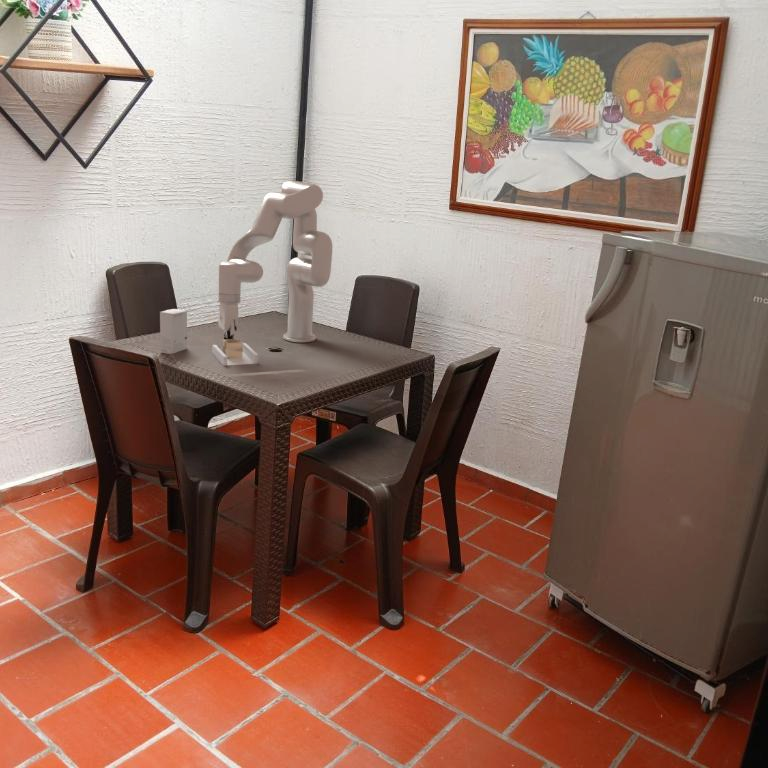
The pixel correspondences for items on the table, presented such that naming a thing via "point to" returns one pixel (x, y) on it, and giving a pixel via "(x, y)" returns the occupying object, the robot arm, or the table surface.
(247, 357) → the u-shaped channel
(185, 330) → the skincare box
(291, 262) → the robot arm
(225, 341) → the birch block
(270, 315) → the table surface
